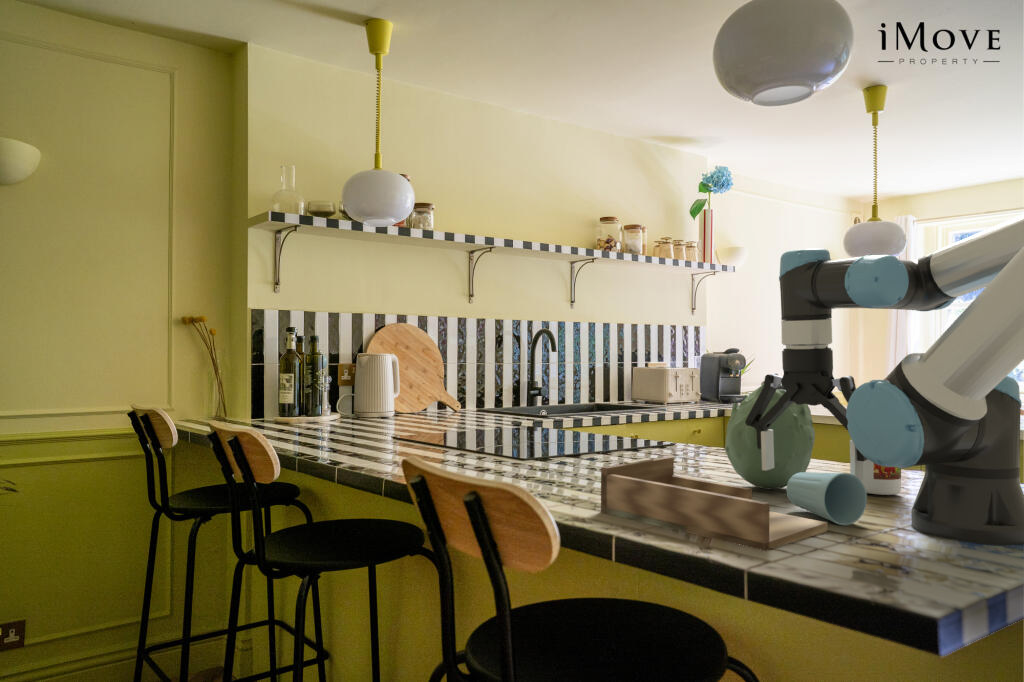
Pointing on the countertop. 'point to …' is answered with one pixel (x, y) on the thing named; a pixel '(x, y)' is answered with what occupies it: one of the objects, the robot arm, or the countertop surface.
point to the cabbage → (789, 442)
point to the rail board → (697, 505)
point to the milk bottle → (881, 479)
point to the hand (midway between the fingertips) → (810, 478)
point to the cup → (829, 495)
